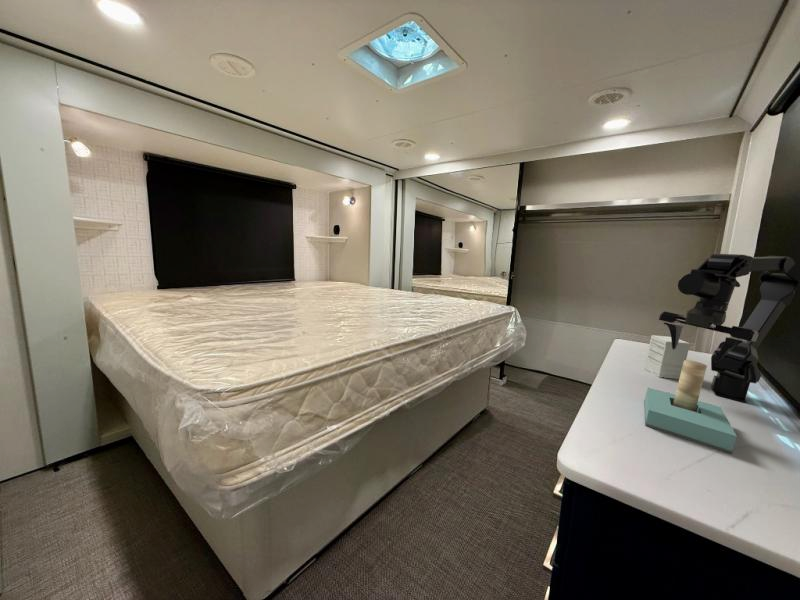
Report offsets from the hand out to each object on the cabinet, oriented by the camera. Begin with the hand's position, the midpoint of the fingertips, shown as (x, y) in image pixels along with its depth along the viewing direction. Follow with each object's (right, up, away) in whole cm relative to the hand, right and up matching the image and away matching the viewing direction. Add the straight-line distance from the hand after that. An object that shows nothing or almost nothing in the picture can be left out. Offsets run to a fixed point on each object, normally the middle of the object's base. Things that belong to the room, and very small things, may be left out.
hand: (694, 355), depth 85 cm
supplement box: (+8, -10, +20) cm, 24 cm away
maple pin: (-13, -13, -10) cm, 21 cm away
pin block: (-14, -14, -12) cm, 23 cm away
